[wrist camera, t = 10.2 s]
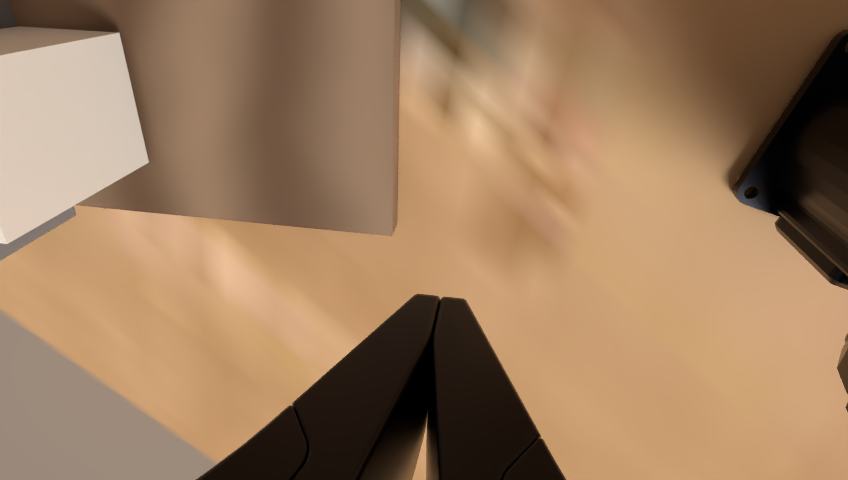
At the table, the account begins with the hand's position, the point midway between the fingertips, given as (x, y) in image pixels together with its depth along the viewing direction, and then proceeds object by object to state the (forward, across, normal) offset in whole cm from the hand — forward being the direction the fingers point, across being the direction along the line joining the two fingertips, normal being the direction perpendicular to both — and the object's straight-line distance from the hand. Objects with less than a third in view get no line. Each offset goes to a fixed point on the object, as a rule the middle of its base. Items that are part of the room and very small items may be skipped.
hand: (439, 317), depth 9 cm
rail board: (+13, +13, 0) cm, 19 cm away
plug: (+11, +16, 0) cm, 20 cm away
